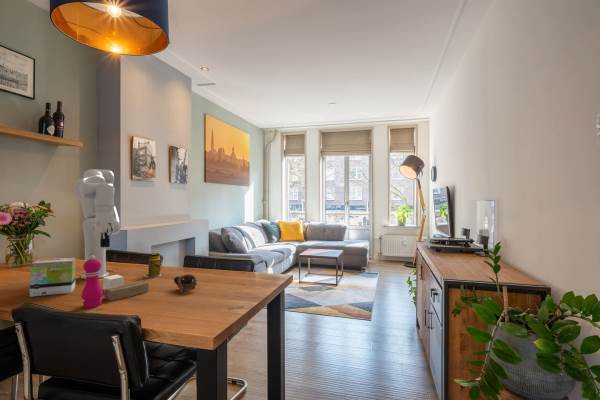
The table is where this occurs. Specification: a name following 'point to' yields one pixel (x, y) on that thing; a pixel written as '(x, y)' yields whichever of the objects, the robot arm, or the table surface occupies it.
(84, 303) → the pepper mill
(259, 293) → the table surface
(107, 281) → the block
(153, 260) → the condiment
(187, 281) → the pottery mug
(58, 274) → the tea box
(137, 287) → the board
